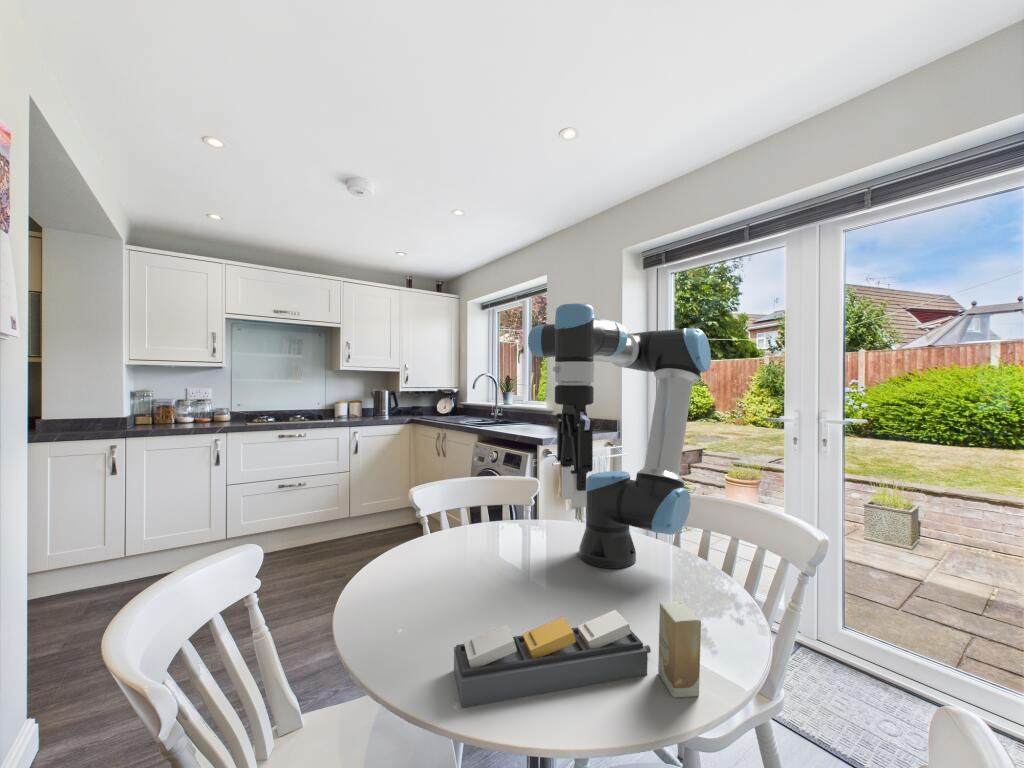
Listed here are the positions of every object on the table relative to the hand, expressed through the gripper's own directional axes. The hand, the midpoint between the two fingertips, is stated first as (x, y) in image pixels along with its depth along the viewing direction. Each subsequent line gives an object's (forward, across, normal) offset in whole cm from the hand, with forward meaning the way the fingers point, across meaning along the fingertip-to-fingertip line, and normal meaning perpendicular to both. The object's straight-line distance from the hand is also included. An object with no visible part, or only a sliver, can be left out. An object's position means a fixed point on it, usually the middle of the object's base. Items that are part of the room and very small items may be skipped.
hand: (573, 502), depth 90 cm
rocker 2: (+20, +12, +1) cm, 23 cm away
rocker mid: (+20, +12, -9) cm, 25 cm away
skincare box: (+25, +20, +10) cm, 33 cm away
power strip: (+25, +12, -7) cm, 29 cm away
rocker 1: (+20, +12, -19) cm, 30 cm away
